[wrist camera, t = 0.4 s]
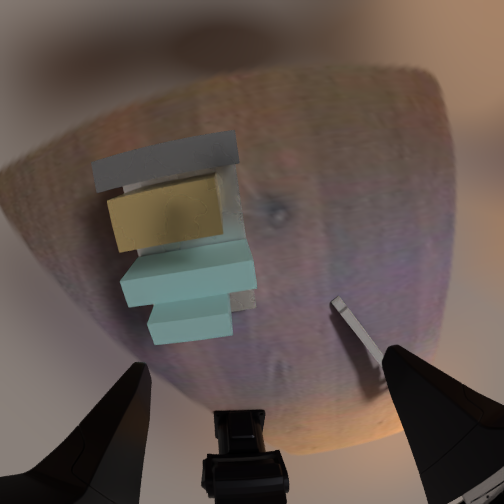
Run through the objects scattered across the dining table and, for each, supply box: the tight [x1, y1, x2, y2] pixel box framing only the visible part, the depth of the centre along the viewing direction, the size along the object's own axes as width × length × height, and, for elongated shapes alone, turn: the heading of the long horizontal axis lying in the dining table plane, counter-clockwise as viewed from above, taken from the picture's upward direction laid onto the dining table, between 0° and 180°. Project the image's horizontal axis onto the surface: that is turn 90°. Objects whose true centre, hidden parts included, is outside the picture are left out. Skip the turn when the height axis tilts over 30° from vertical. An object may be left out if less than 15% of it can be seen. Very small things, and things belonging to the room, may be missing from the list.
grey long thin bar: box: [331, 296, 384, 367], centre depth 27 cm, size 20×1×6 cm, turn 40°
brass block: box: [107, 172, 223, 253], centre depth 17 cm, size 3×6×7 cm, turn 98°
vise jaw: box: [120, 239, 257, 345], centre depth 19 cm, size 4×9×7 cm, turn 98°
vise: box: [91, 130, 256, 312], centre depth 20 cm, size 15×9×6 cm, turn 8°
